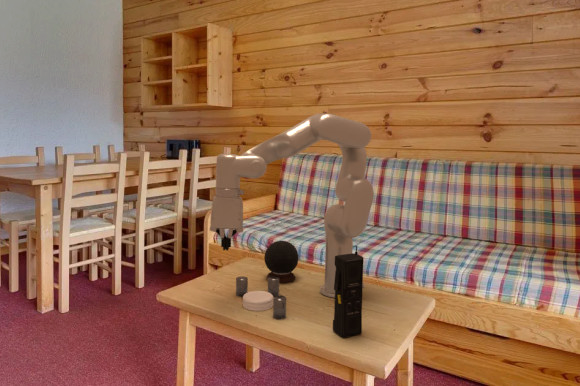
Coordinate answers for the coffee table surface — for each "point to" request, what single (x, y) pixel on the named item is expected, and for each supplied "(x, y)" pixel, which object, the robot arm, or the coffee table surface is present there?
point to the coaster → (258, 300)
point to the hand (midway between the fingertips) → (225, 249)
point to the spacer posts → (273, 288)
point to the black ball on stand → (281, 261)
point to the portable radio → (348, 294)
